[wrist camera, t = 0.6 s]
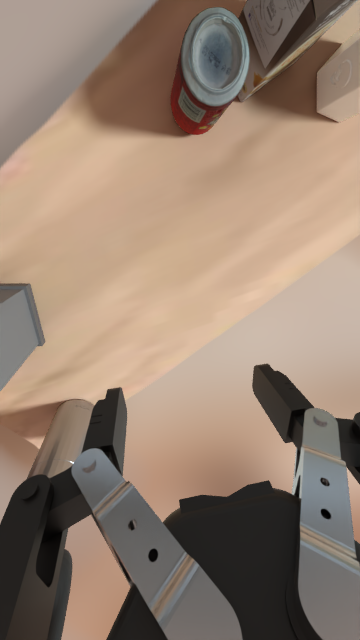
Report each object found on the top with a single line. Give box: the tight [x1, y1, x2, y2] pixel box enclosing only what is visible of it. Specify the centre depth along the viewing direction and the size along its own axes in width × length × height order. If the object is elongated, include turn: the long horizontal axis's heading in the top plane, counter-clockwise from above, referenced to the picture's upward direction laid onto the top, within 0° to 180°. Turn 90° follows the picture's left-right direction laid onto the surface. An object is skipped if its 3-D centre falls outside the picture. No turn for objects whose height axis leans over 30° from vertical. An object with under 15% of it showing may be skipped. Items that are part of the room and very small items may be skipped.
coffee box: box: [238, 0, 357, 102], centre depth 24 cm, size 9×6×16 cm
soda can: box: [171, 7, 250, 135], centre depth 27 cm, size 7×7×12 cm
